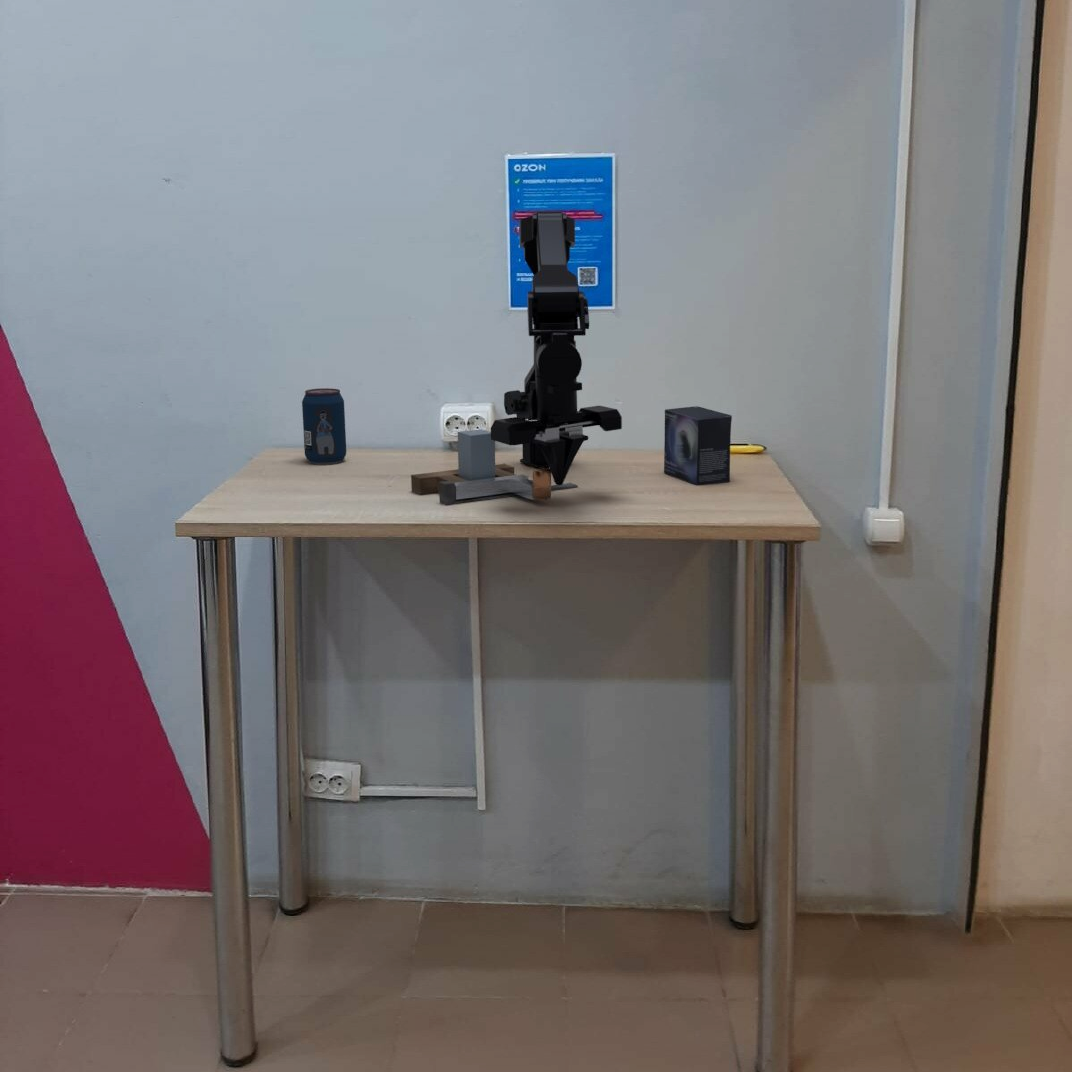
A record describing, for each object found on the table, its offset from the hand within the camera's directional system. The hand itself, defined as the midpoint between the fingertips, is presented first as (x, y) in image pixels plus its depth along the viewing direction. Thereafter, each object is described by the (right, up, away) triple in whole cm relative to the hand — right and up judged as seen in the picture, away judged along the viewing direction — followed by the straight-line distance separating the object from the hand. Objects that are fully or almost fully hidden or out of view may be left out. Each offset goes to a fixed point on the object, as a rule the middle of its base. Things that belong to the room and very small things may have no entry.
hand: (558, 484), depth 167 cm
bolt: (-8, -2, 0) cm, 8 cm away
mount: (-9, 0, +9) cm, 13 cm away
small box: (+22, +2, +17) cm, 28 cm away
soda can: (-39, +5, +31) cm, 50 cm away
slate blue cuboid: (-12, -1, +7) cm, 14 cm away
